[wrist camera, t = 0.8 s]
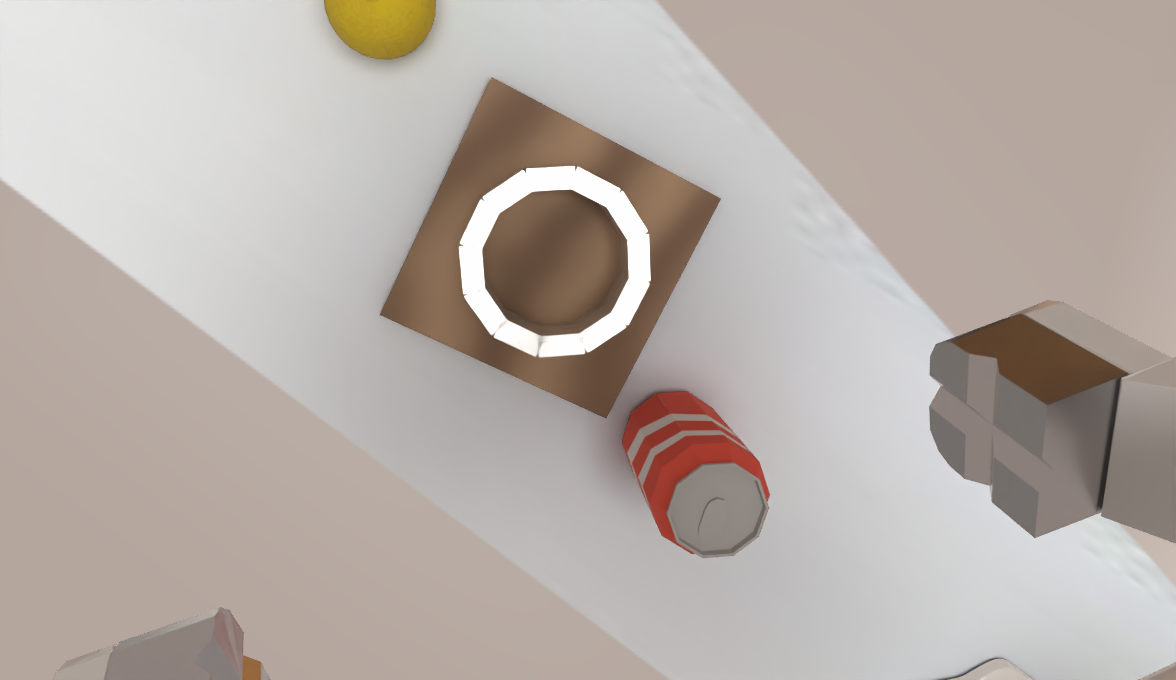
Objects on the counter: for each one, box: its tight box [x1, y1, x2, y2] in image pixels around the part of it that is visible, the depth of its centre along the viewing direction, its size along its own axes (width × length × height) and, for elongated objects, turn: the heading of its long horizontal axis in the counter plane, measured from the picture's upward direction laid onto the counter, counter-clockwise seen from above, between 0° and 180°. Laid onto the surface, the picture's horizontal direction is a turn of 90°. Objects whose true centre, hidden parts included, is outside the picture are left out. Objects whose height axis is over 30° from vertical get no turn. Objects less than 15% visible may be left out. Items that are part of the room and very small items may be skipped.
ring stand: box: [380, 77, 721, 418], centre depth 51 cm, size 15×15×1 cm
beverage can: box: [622, 392, 770, 558], centre depth 49 cm, size 6×6×12 cm
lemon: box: [324, 0, 436, 59], centre depth 44 cm, size 6×6×8 cm
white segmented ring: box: [459, 165, 650, 357], centre depth 49 cm, size 10×10×4 cm
